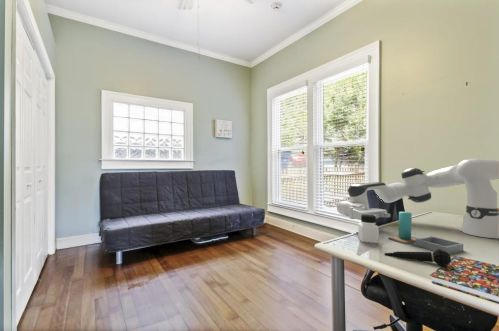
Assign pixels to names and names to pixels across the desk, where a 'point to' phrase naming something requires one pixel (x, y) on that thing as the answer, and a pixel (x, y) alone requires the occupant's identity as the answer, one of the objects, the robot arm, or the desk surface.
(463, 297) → the desk surface
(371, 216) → the medicine bottle
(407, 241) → the mat
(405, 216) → the canister
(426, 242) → the caddy
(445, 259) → the microphone
